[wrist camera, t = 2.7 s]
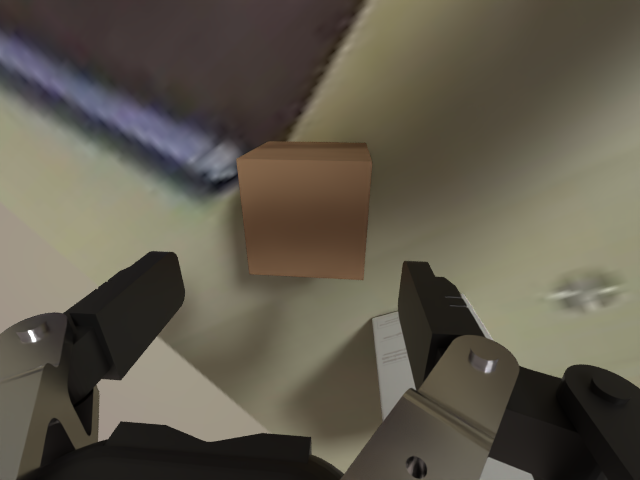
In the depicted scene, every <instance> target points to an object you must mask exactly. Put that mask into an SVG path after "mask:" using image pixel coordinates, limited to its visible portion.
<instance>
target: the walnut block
mask: <svg viewBox="0 0 640 480" xmlns="http://www.w3.org/2000/svg"><path fill="white" fill-rule="evenodd" d="M236 160H237V169H238V178H239V186H240V195H241V204H242V213H243V222H244V231H245V240H246V249H247V258H248V266H249V274H256V275H276V276H295V277H315V278H334V279H354V280H363V278H364V264H365V251H366V238H367V225H368V211H369V198H370V185H371V172H372V159H371V157H370V154H369V151H368V148H367V145H366V143H339V142H275V141H268V142H267V143H265V144H263V145H261V146H259V147H257V148H256V149H254V150H252V151H250V152H248V153H246V154H245V155H243V156H241V157H239V158H237V159H236Z"/></svg>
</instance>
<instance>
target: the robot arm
mask: <svg viewBox="0 0 640 480" xmlns="http://www.w3.org/2000/svg"><path fill="white" fill-rule="evenodd" d="M184 297H185V288H184V284H183V279H182V275H181V270H180V266H179V261H178V257H177V255H176V254H175V253H174V252H158V251H151V252H149V253H147V254H146V255H145V256H143V257H142V258H141V259H140V260H138V261H137V262H136V263H134V264H133V265H132V266H130V267H128V268H126V269H124V270H122V271H120V272H118V273H117V274H116V275H114V276H113V277H111V278H110V279H109V280H108V282H105V283H103V284H102V285H101V286H99V287H98V289H95V290H94V291H93V292H91V293H90V294H89V295H87V296H86V297H85V298H83V299H82V300H81V301H79V302H78V303H76V304H75V305H74V306H72V307H71V308H70V309H68V310H67V311H66V312H64V313H63V314H62V313H45V314H40V315H37V316H34V317H31V318H27V319H25V320H23V321H20V322H18V323H17V324H14V325H13V326H11V327H9V328H8V329H6V330H5V331H4V332H2V333H1V334H0V480H480V477H481V474H482V472H483V469H484V466H485V464H486V461H487V458H488V457H490V458H492V459H495V460H497V461H500V462H502V463H505V464H507V465H510V466H512V467H515V468H517V469H520V470H522V471H525V472H527V473H530V474H532V476H533V479H534V480H640V389H639V388H638V387H637V386H635V385H634V384H632V383H631V382H629V381H628V380H626V379H624V378H623V377H621V376H619V375H617V374H615V373H613V372H610V371H608V370H605V369H602V368H599V367H595V366H591V365H581V364H579V365H573V366H570V367H569V368H567V369H566V371H565V373H564V375H563V377H562V379H561V378H558V377H554V376H551V375H547V374H544V373H540V372H537V371H533V370H530V369H527V368H524V367H521V366H519V364H518V362H517V360H516V358H515V357H514V356H513V354H512V353H511V352H510V351H509V350H508V349H506V348H505V347H504V346H502V345H500V344H499V343H497V342H495V341H493V340H491V339H488V338H486V337H485V335H484V334H483V332H482V330H481V328H480V327H479V325H478V323H477V322H476V320H475V318H474V317H473V315H472V313H471V311H470V310H469V308H467V305H466V303H465V301H464V299H462V296H461V294H460V293H459V291H458V289H457V288H456V286H455V285H454V284H452V283H451V282H450V281H448V280H447V279H446V278H444V277H435V275H434V273H433V271H432V269H431V267H430V265H429V263H428V262H418V261H404V263H403V267H402V274H401V282H400V290H399V298H398V315H399V321H400V325H401V329H402V333H403V337H404V342H405V346H406V350H407V354H408V359H409V363H410V367H411V371H412V375H413V380H414V384H415V388H416V390H415V389H413V388H409V389H408V390H407V391H406V392H405V393H404V394H403V395H402V397H401V398H400V399H399V401H398V402H397V404H396V405H395V406H394V408H393V409H392V410H391V412H390V413H389V414H388V416H387V417H386V418H385V420H384V421H383V422H382V424H381V425H380V426H379V428H378V429H377V431H376V432H375V433H374V435H373V436H372V437H371V439H370V440H369V441H368V443H367V444H366V445H365V447H364V448H363V449H362V451H361V452H360V453H359V455H358V456H357V457H356V459H355V460H354V462H353V463H352V464H351V466H350V467H349V468H348V470H347V471H346V472H345V474H343V473H342V472H341V471H340V470H338V469H337V468H336V467H334V466H333V465H332V464H330V463H328V462H326V461H325V460H323V459H321V458H319V457H316V456H314V455H311V437H303V436H291V435H279V434H267V433H261V434H255V435H249V436H243V437H238V438H232V439H226V440H221V441H215V442H206V441H203V440H200V439H198V438H195V437H193V436H191V435H188V434H186V433H183V432H181V431H179V430H176V429H174V428H171V427H169V426H167V425H157V424H145V423H132V422H120V424H119V425H118V426H117V428H116V429H115V430H114V432H113V433H112V435H111V436H110V437H109V439H108V440H103V441H100V442H98V423H99V390H98V388H97V385H96V384H97V383H98V382H99V381H100V380H101V379H110V380H121V379H122V378H123V377H124V376H125V375H126V373H127V372H128V371H129V369H130V368H131V367H132V366H133V365H134V363H135V362H136V361H137V360H138V358H139V357H140V356H141V355H142V354H143V352H144V351H145V350H146V349H147V347H148V346H149V345H150V344H151V343H152V341H153V340H154V339H155V338H156V337H157V335H158V334H159V333H160V332H161V330H162V329H163V328H164V327H165V326H166V324H167V323H168V322H169V321H170V319H171V318H172V317H173V316H174V315H175V313H176V312H177V311H178V310H179V308H180V307H181V306H182V304H183V301H184Z"/></svg>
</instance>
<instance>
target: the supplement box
mask: <svg viewBox="0 0 640 480" xmlns="http://www.w3.org/2000/svg"><path fill="white" fill-rule="evenodd" d="M461 296H462V299H464V301H465V303H466V305H467V308H469V310H470V311H471V313H472V315H473V317H474V318H475V320H476V322H477V323H478V325H479V327H480V328H481V330H482V332H483V334H484V335H485V337H486V338H488V339H491V340H493V339H492V337H491V336H490V334H489V332H488V331H487V329H486V327H485V326H484V324H483V323H482V321H481V320H480V318H479V316H478V315H477V313H476V312H475V310H474V309H473V307H472V305H471V304H470V302H469V300H468V299H467V297H466V296H465V295H464V294H461ZM372 325H373V334H374V344H375V353H376V362H377V372H378V382H379V392H380V401H381V411H382V420H383V421H384V420H385V418H386V417H387V416H388V414H389V413H390V412H391V410H392V409H393V408H394V406H395V405H396V404H397V402H398V401H399V399H400V398H401V397H402V395H403V394H404V393H405V392H406V391H407V390H408V389H409V388H413V389H415V390H416V388H415V384H414V380H413V375H412V371H411V367H410V363H409V359H408V354H407V350H406V346H405V342H404V337H403V333H402V329H401V325H400V321H399V315H398V311H397V312H393V313H390V314H386V315H382V316H379V317H375V318H372ZM480 480H534V479H533V476H532V474H530V473H527V472H525V471H522V470H520V469H517V468H515V467H512V466H510V465H507V464H505V463H502V462H500V461H497V460H495V459H492V458H490V457H488V458H487V461H486V464H485V466H484V469H483V472H482V474H481V477H480Z"/></svg>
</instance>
